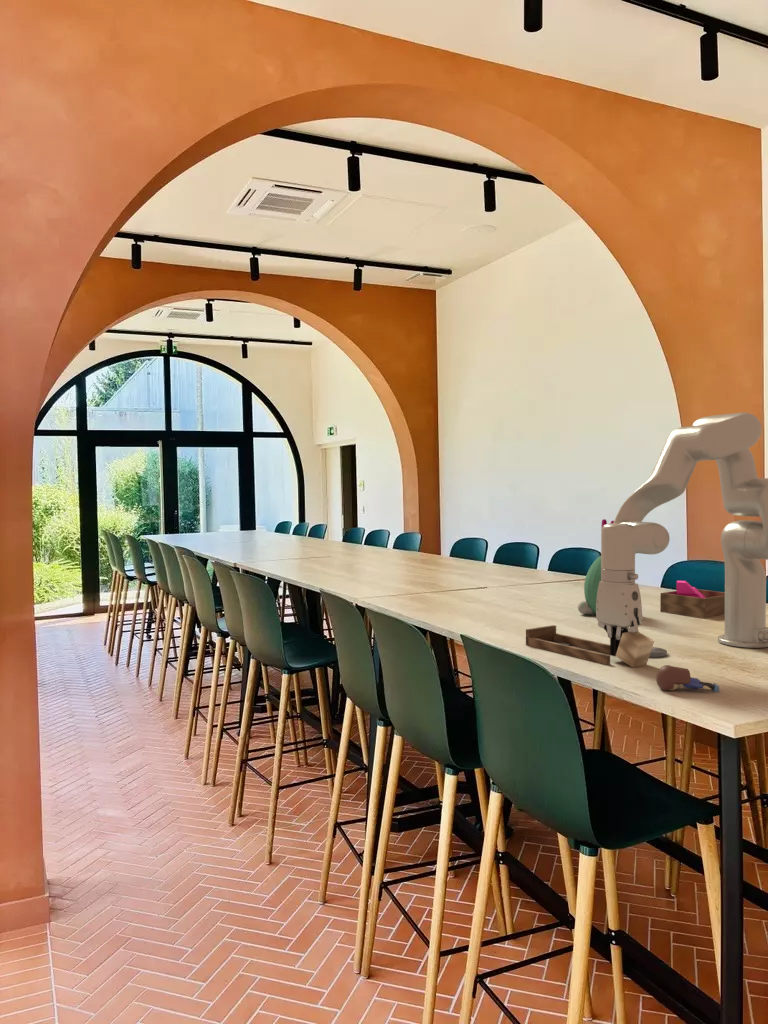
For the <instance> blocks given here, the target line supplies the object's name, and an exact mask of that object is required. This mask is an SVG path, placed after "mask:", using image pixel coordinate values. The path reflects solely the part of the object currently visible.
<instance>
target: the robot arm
mask: <svg viewBox="0 0 768 1024" xmlns="http://www.w3.org/2000/svg"><path fill="white" fill-rule="evenodd" d="M762 430H763V429H762V424H761V421H760V419H759V418H758V417H757V416H756V415H754V414H753V413H751V412H750V413H749V412H736V413H725V414H724V413H723V414H715V415H708V416H702V417H700V418H697V419H696V420H695V421H694V422H693V423H692V425H691V426H689V425H687V426H682V427H678V428H676V429H674V430H672V431H671V432H670V434H669V435H668V437H667V439H666V440H665V443H664V445H663V448H662V449H661V452H660V453H659V456H658V459H657V462H656V463H655V466H654V468H653V469H652V471H651V474H650V476H649V478H648V479H647V480H646V481H645V482H643V484H642V485H640V486H638V488H637V489H636V490H635V491H633V492H632V494H630V495H629V496H628V497H627V499H625V501H624V502H623V503H622V505H621V506H620V507H619V509H618V512H617V514H616V516H615V518H614V520H613V521H614V523H611V522H610V523H611V524H610V523H607V524H605V525H604V526H603V527H602V526H601V529H602V531H601V530H600V532H601V535H600V536H601V537H600V538H601V539H600V542H601V543H600V544H601V545H600V546H601V547H600V548H601V549H600V550H601V551H600V552H601V553H600V556H601V581H600V582H599V586H598V592H597V600H596V614H595V617H596V621H597V626H598V627H600V628H601V629H603V630H604V631H605V632H606V633H607V637H608V638H609V643H610V644H609V645H610V654H609V655H610V657H611V656H614V657H616V653H617V650H618V646H619V643H620V640H621V637H622V633H626V632H628V633H630V634H632V633H638V632H639V627H640V626H641V625H642V624H643V609H642V608H643V606H642V598H641V597H642V596H641V591H640V586H639V583H636V580H637V581H638V580H639V575H638V573H636V554H640V555H641V554H643V555H658V554H660V553H662V552H664V551H665V550H666V549H667V548H668V546H669V543H670V533H669V532H668V530H667V528H665V526H663V525H661V524H660V523H657V522H652V521H651V522H650V521H643V520H644V519H645V517H646V516H647V515H648V514H649V513H650V512H651V511H653V510H654V509H656V508H658V507H660V506H661V505H664V504H666V503H668V502H671V501H673V500H675V499H677V498H679V497H680V496H682V495H683V494H684V492H685V491H686V488H687V486H688V484H689V482H690V479H691V478H692V477H691V476H692V475H693V473H694V470H695V469H696V466H697V464H698V462H702V461H703V462H704V461H715V462H716V465H717V469H718V475H719V483H720V490H721V498H722V505H723V507H724V510H725V511H726V513H728V514H729V515H733V516H739V517H755V518H758V517H759V518H760V520H750V519H749V520H747V519H739V520H734V521H731V522H729V523H728V524H726V525H725V526H724V528H722V531H721V533H720V544H721V549H722V555H723V561H724V593H725V615H724V634H720V635H718V636H717V642H718V643H720V644H723V645H726V646H731V647H737V648H745V649H746V648H750V649H758V648H759V649H761V648H768V627H767V624H766V623H767V622H766V621H767V619H766V617H767V615H766V613H767V575H766V574H767V573H766V570H765V567H764V566H763V564H762V562H761V560H766V561H768V478H767V477H763V478H762V477H761V478H759V477H758V473H757V469H756V461H755V458H754V455H753V453H752V451H751V447H753V446H754V445H756V444H757V442H758V441H759V440H760V438H761V436H762Z"/></svg>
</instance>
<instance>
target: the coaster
mask: <svg viewBox="0 0 768 1024" xmlns="http://www.w3.org/2000/svg"><path fill="white" fill-rule="evenodd" d="M667 656H668V651H667V650H666V649H664V648H661V647H656V646H653V647H652V650H651V653H650V656H649V659H651V658H653V659H654V658H657V659H658V658H664V657H665V658H666V657H667Z"/></svg>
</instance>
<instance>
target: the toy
mask: <svg viewBox="0 0 768 1024" xmlns="http://www.w3.org/2000/svg"><path fill="white" fill-rule="evenodd" d="M611 523H614V520H611V521H610V523H609V524H611ZM605 524H608V521H607V519H605V518H603V519H602V520H601V530H600V532H601V531H602V527H603V526H604V525H605ZM600 581H601V555H600V556H598V557H597V558H596V559H595V560H594V561H593V563H592V564H591V565H590V566H589V569H588V571H587V574H586V575H585V579H584V585H583V589H584V598H585V600H583V601H581V602H579V603H578V605H577V610H578V612H579V613H580V614H582V615H586V616H589V615H590V616H591V615H596V600H597V592H598V586H599V582H600Z"/></svg>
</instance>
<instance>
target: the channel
mask: <svg viewBox="0 0 768 1024" xmlns="http://www.w3.org/2000/svg"><path fill="white" fill-rule="evenodd" d="M525 645H526V646H530V647H533V648H537V649H541V650H545V651H550V652H554V653H558V654H562V655H566V656H570V657H574V658H578V659H583V660H585V661H586V660H587V661H592V662H595V663H599V664H603V665H606V666H607V665H610V664H611V655H610V644H608V643H603V642H598V641H594V640H589V639H585V638H580V637H575V636H570V635H565V634H561V633H557V625H554V624H551V625H547V626H546V625H545V626H540V627H531V628H526V629H525Z"/></svg>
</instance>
